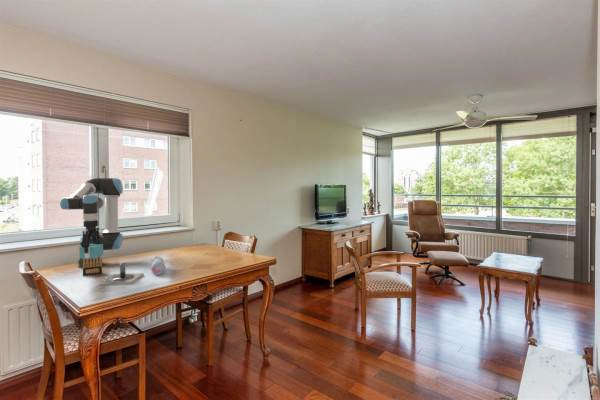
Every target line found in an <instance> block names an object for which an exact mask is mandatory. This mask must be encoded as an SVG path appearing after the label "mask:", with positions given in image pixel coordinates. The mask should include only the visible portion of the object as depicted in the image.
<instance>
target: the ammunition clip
mask: <svg viewBox="0 0 600 400" xmlns="http://www.w3.org/2000/svg"><path fill="white" fill-rule="evenodd" d="M101 258H102V256H100V257H99V262H98V257H97V258H96V263H95V258H93V267H92V258H90V263H89V259H88V258H87V260H86V262H85V259H83V267H82V276H83V277H86V276H93V275H102V274H103V264H102V261H103V260H102V261H101Z"/></svg>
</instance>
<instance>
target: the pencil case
mask: <svg viewBox="0 0 600 400" xmlns="http://www.w3.org/2000/svg"><path fill="white" fill-rule="evenodd" d="M150 266H151V272H152V274H153V275H155V276H161V275H163V274H164V273H165V272H166V265H165V261H164V259H163V257H160V256H154V257H152V260H151V262H150Z"/></svg>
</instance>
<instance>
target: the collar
mask: <svg viewBox="0 0 600 400" xmlns="http://www.w3.org/2000/svg"><path fill="white" fill-rule="evenodd" d="M89 247H90V258H97V257H100V256H101V257H102V256H103V255H104V250H103V244H89ZM78 253H79V259H86V258H85V254H84V248H82V246H81V247H80V246H79V251H78Z"/></svg>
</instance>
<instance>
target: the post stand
mask: <svg viewBox="0 0 600 400" xmlns="http://www.w3.org/2000/svg"><path fill="white" fill-rule="evenodd" d="M143 276H144V272H136V273H135V272H134V273H133V272H132V273H131V272H130V273H127V272H126V262H120V263H119V273H114V274H112V275H110V276H108V277H107V278H104V279H103V280H101V281H100V282H99V285H100V286H106V285H108V286H109V285H112V286H113V285H132V284H134V283H135V282H136V281H137V280H139V279H141V278H142V277H143Z"/></svg>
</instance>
